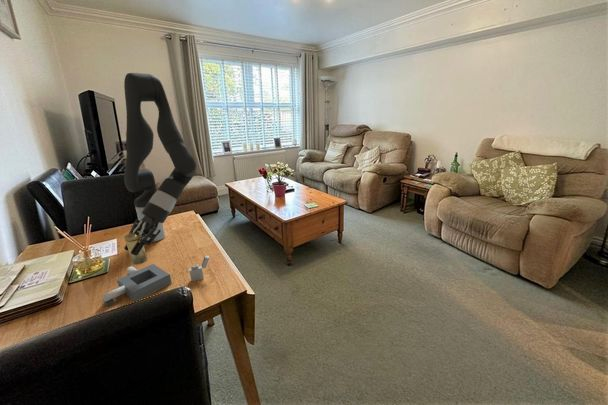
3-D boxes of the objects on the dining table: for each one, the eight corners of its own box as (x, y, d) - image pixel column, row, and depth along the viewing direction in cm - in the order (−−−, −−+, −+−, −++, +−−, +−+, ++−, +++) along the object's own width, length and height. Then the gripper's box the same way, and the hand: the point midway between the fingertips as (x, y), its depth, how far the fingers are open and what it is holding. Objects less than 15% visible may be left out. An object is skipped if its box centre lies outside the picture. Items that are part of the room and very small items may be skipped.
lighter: (191, 281, 94) (187, 261, 92) (191, 278, 96) (187, 259, 93) (212, 276, 97) (209, 256, 95) (211, 273, 99) (208, 254, 96)
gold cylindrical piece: (128, 262, 89) (121, 236, 86) (143, 256, 93) (137, 231, 90) (135, 266, 87) (127, 240, 84) (150, 260, 90) (144, 234, 87)
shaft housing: (93, 292, 90) (90, 283, 89) (148, 267, 104) (146, 259, 103) (113, 312, 80) (110, 302, 79) (171, 282, 94) (169, 274, 93)
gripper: (140, 198, 93) (110, 242, 88) (160, 205, 85) (128, 254, 80) (159, 207, 99) (131, 250, 94) (179, 215, 91) (150, 262, 86)
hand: (130, 252), depth 87 cm, fingers closed on gold cylindrical piece, 4 cm apart
